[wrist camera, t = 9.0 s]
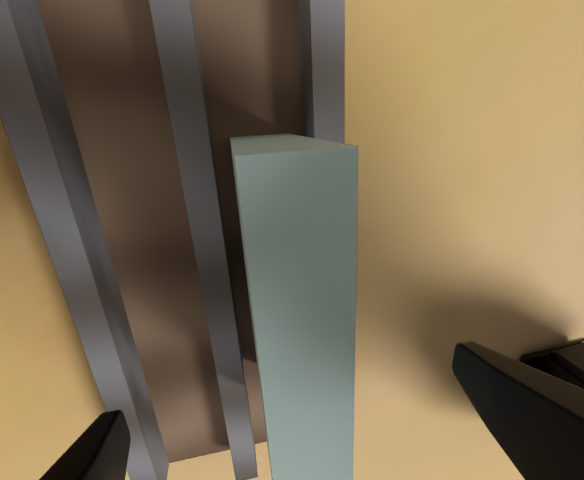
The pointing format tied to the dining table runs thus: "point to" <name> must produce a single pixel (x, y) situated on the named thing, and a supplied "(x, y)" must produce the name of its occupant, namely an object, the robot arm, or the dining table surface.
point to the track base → (162, 191)
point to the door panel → (301, 295)
